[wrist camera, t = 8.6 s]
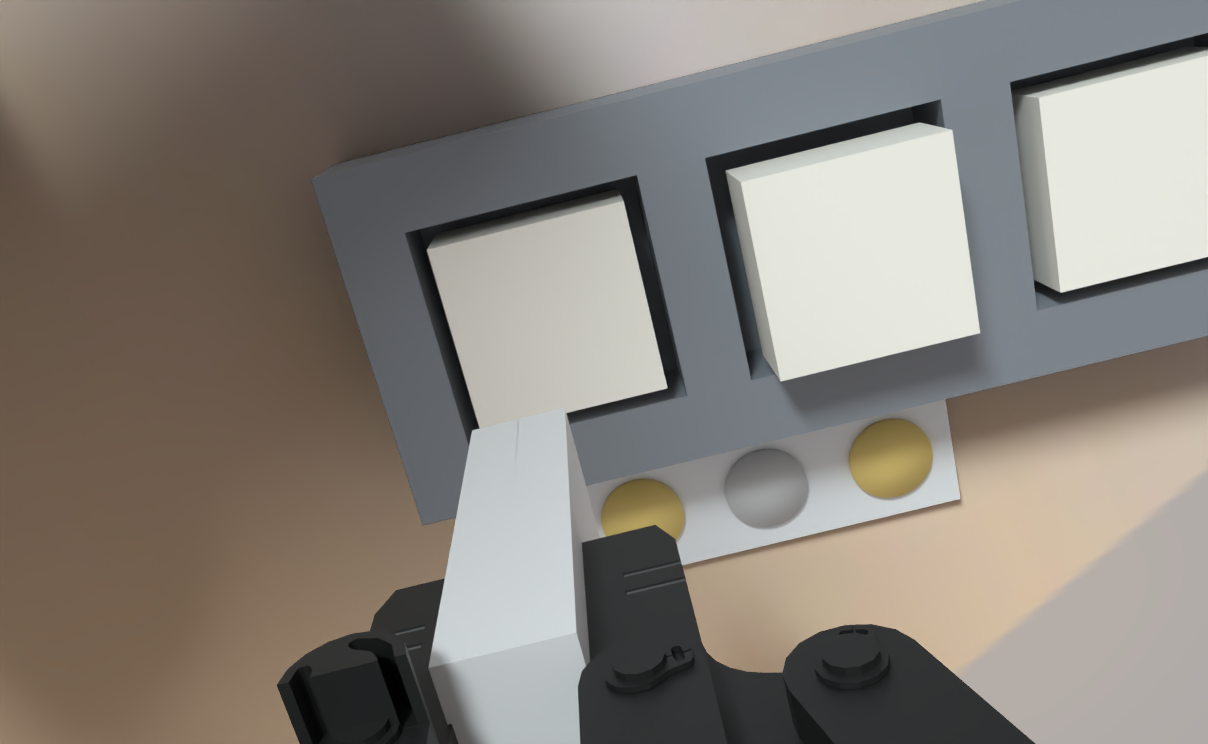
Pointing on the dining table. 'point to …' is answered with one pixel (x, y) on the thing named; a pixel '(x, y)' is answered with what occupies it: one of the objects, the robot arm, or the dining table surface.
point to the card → (789, 485)
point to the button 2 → (856, 249)
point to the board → (711, 242)
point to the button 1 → (548, 309)
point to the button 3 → (1115, 168)
